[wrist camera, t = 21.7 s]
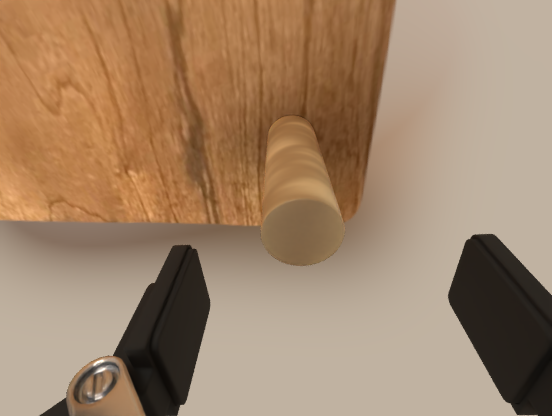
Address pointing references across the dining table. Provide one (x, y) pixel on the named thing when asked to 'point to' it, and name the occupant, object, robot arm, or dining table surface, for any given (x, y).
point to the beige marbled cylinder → (298, 197)
